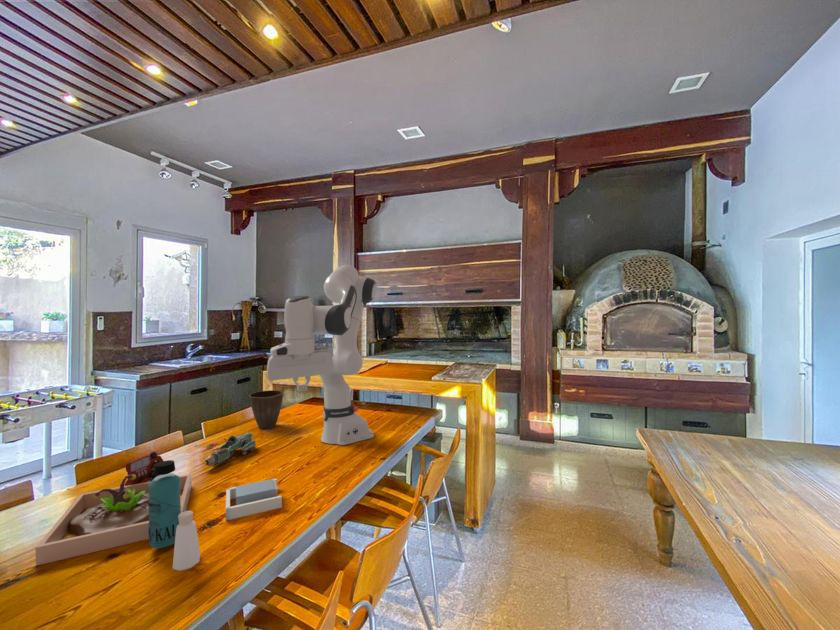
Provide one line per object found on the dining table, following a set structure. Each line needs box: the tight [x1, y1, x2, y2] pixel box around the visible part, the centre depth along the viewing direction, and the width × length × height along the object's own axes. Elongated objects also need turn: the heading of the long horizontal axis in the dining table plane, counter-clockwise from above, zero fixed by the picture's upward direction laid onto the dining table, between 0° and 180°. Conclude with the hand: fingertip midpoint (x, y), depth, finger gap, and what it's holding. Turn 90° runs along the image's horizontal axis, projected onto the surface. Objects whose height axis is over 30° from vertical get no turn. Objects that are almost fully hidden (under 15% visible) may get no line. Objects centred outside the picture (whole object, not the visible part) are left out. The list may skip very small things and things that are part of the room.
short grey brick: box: [235, 478, 279, 506], centre depth 108 cm, size 11×7×4 cm, turn 117°
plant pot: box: [249, 389, 284, 430], centre depth 178 cm, size 15×15×16 cm
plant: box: [68, 474, 149, 536], centre depth 101 cm, size 20×20×11 cm
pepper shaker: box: [172, 510, 201, 572], centre depth 82 cm, size 5×5×11 cm
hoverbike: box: [204, 431, 257, 467], centre depth 141 cm, size 10×25×8 cm, turn 169°
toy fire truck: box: [124, 451, 164, 486], centre depth 118 cm, size 7×12×10 cm, turn 167°
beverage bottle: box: [148, 459, 182, 549], centre depth 88 cm, size 6×7×20 cm
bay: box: [225, 478, 283, 522], centre depth 107 cm, size 14×13×3 cm
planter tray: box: [35, 473, 193, 567], centre depth 100 cm, size 27×27×4 cm
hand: (302, 390), depth 118 cm, fingers closed
